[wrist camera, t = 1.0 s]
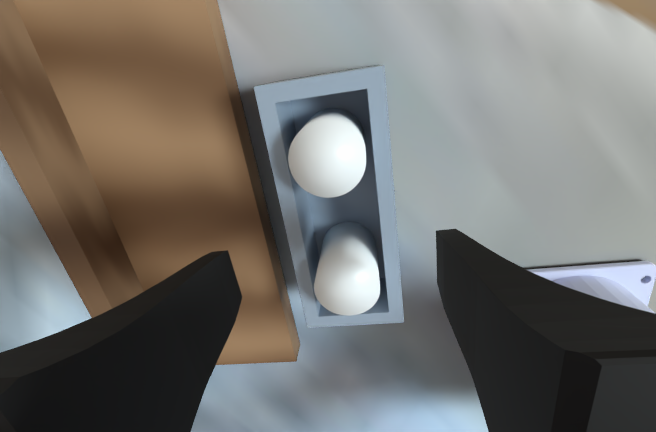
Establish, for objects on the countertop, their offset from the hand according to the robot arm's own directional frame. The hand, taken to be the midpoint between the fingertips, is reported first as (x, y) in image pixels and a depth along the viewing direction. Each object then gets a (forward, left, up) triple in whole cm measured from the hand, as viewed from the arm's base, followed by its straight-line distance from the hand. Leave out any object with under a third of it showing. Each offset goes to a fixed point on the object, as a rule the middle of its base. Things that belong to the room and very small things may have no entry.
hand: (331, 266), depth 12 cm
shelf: (0, +9, -8) cm, 12 cm away
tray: (0, 0, -8) cm, 8 cm away
